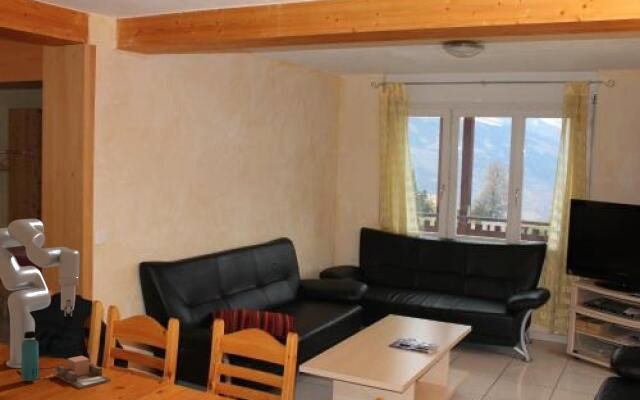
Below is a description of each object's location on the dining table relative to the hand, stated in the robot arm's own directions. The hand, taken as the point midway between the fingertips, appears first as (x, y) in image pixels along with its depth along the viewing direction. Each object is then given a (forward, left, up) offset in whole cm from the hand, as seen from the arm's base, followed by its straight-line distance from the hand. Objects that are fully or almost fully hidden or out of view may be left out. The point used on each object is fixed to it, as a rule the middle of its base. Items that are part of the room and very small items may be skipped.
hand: (68, 322), depth 268 cm
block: (+2, +4, -21) cm, 21 cm away
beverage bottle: (-4, -13, -23) cm, 26 cm away
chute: (+6, +4, -22) cm, 23 cm away
